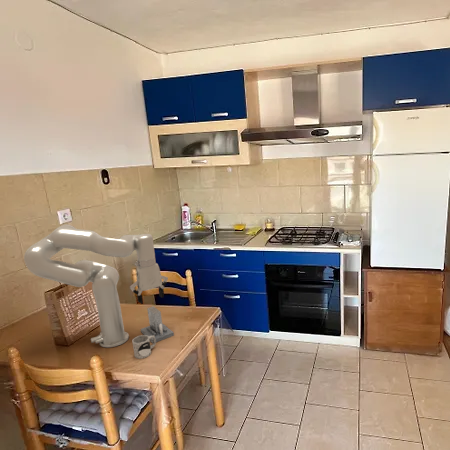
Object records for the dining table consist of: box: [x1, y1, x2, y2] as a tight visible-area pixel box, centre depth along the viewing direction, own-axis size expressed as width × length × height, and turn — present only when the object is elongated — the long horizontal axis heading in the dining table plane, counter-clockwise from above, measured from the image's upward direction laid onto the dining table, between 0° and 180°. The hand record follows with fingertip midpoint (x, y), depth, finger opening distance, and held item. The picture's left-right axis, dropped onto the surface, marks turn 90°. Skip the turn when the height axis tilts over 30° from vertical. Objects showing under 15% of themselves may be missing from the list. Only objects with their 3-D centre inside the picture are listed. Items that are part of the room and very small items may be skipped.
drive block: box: [146, 305, 163, 335], centre depth 163 cm, size 8×3×10 cm, turn 34°
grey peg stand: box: [140, 322, 175, 344], centre depth 163 cm, size 14×10×6 cm
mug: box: [131, 334, 157, 359], centre depth 148 cm, size 10×7×7 cm
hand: (151, 299), depth 161 cm, fingers open, 9 cm apart
